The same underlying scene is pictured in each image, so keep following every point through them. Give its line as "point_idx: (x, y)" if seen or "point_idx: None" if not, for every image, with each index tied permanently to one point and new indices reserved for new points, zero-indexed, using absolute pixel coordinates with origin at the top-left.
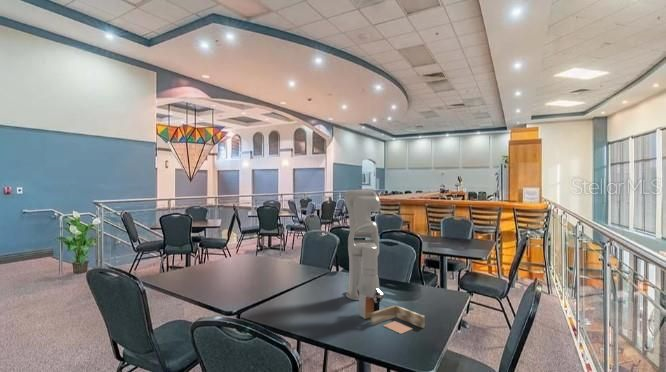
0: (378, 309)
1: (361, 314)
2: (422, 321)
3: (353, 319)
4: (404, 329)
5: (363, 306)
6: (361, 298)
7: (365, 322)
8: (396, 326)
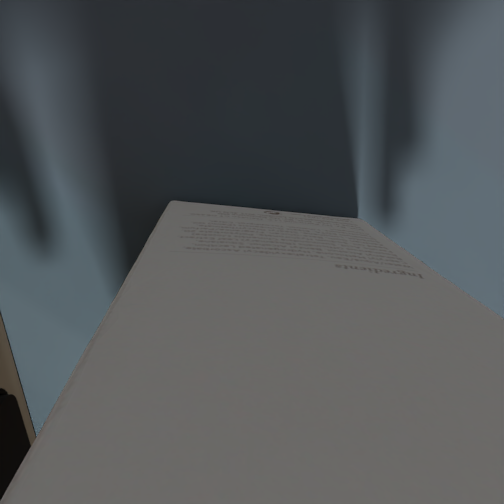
0: None
1: (283, 215)
2: None
3: (275, 12)
4: None
5: (228, 270)
6: (453, 417)
7: (58, 122)
8: None
